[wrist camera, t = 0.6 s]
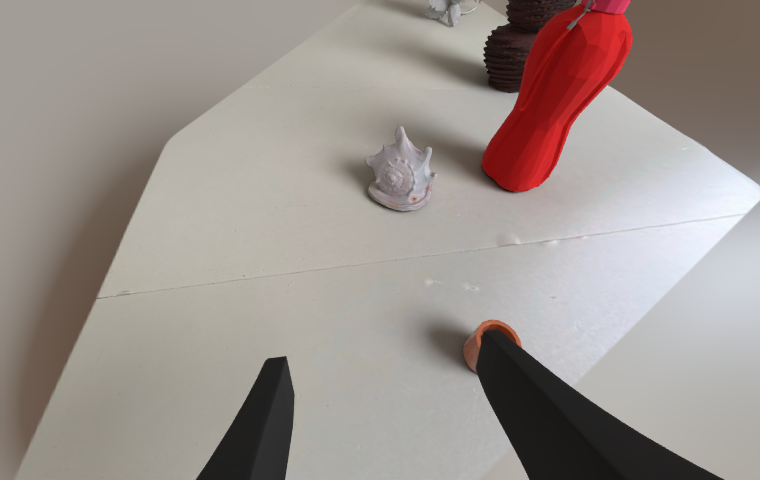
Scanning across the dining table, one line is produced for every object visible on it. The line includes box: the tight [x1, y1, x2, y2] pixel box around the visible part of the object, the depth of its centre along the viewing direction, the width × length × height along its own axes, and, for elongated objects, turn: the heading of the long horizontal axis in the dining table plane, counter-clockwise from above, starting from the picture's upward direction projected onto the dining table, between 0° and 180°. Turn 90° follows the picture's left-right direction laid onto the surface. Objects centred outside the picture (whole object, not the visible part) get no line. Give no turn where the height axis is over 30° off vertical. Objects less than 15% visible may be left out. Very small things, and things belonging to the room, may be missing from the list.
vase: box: [483, 0, 576, 93], centre depth 59 cm, size 15×15×30 cm
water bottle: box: [482, 0, 633, 192], centre depth 38 cm, size 9×11×25 cm
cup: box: [463, 320, 522, 373], centre depth 27 cm, size 4×4×4 cm
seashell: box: [365, 126, 437, 211], centre depth 41 cm, size 10×12×9 cm
